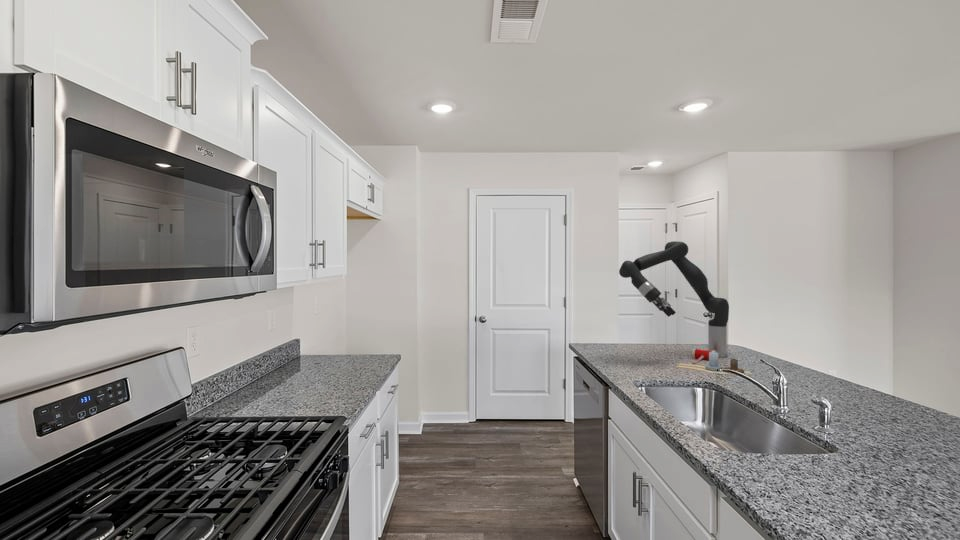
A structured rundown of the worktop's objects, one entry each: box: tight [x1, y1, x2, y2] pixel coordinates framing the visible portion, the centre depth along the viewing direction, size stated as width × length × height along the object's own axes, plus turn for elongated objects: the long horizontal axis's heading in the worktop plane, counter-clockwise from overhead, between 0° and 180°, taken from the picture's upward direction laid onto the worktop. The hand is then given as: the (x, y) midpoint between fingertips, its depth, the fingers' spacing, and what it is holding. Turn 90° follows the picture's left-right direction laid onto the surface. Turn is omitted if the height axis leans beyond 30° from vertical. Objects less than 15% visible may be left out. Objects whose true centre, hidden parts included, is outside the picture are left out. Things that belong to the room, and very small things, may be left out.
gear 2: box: [723, 357, 745, 373], centre depth 208 cm, size 8×8×7 cm
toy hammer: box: [690, 347, 717, 365], centre depth 233 cm, size 23×12×6 cm, turn 138°
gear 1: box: [704, 352, 723, 371], centre depth 213 cm, size 7×7×8 cm
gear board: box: [674, 362, 751, 377], centre depth 214 cm, size 13×31×1 cm, turn 54°
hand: (672, 314), depth 224 cm, fingers open, 8 cm apart
